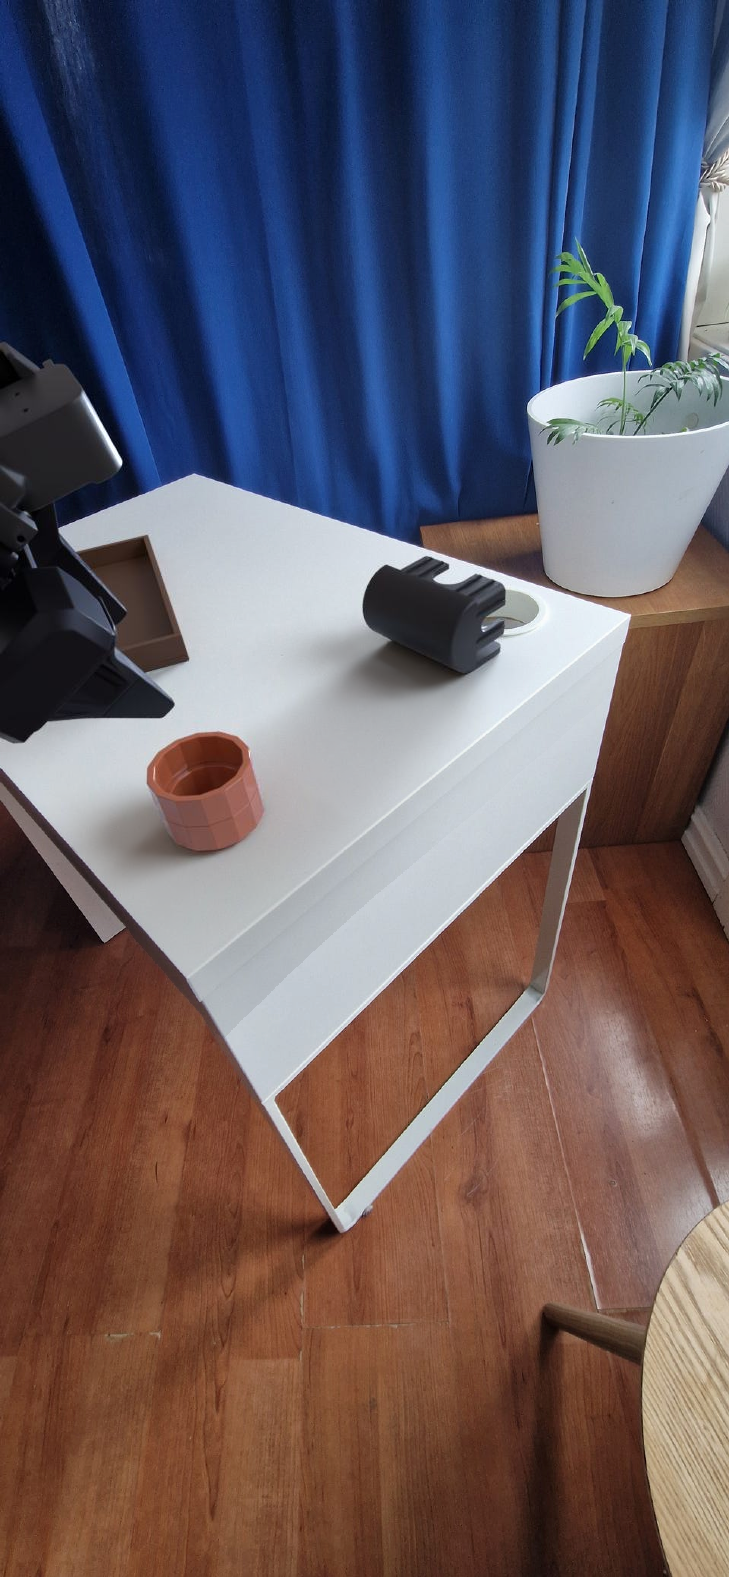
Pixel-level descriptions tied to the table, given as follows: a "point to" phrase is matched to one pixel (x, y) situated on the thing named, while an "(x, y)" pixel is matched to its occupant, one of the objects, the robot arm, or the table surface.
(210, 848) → the terracotta flower pot
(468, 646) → the end cap
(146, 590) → the tray
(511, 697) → the table surface
